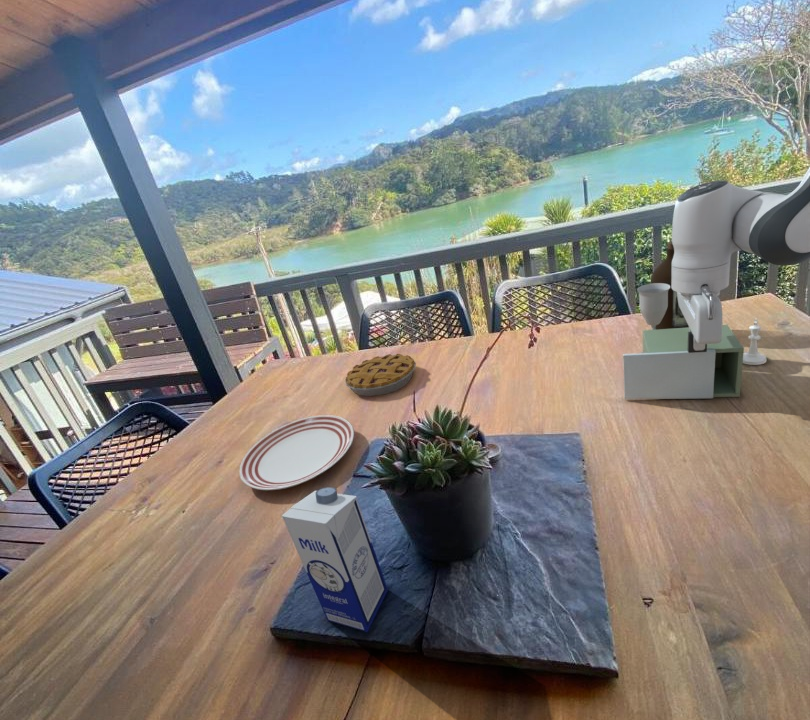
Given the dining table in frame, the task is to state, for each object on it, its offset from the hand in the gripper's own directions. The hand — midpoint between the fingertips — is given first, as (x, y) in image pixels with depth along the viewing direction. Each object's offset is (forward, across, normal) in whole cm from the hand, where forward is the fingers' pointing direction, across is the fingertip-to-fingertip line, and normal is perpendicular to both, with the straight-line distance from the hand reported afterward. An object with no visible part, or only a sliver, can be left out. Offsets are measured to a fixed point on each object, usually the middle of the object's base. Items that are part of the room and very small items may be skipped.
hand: (697, 346), depth 85 cm
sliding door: (+12, 0, +5) cm, 13 cm away
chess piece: (+12, +17, -14) cm, 25 cm away
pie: (+12, +13, +78) cm, 80 cm away
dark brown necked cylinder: (+12, +34, -1) cm, 36 cm away
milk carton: (+12, -57, +51) cm, 78 cm away
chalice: (+12, +21, +5) cm, 25 cm away
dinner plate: (+12, -25, +83) cm, 88 cm away
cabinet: (+12, +7, 0) cm, 14 cm away
